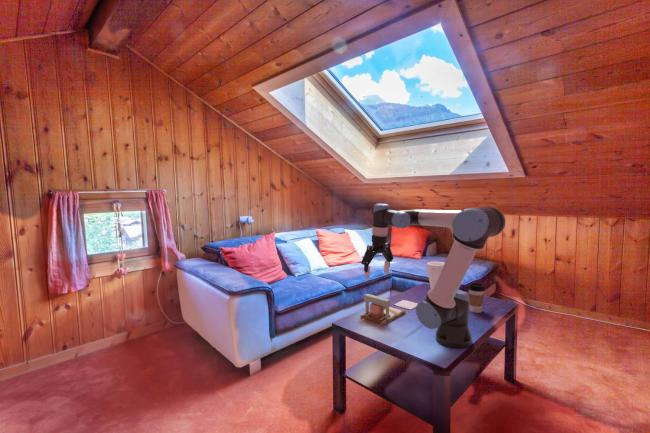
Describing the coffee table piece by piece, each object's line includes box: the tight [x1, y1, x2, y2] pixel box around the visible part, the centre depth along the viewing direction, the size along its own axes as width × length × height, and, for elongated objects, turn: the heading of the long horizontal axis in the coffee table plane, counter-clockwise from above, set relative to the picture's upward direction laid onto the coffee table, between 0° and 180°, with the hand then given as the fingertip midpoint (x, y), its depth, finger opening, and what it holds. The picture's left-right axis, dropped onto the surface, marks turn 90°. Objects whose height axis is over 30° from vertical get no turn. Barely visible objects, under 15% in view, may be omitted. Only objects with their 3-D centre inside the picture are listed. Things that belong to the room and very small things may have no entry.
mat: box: [393, 299, 419, 311], centre depth 191 cm, size 11×11×1 cm
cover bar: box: [363, 293, 391, 320], centre depth 167 cm, size 3×14×10 cm, turn 46°
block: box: [369, 303, 384, 319], centre depth 167 cm, size 5×5×8 cm
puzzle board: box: [357, 306, 409, 328], centre depth 172 cm, size 26×14×4 cm, turn 136°
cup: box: [426, 260, 445, 289], centre depth 202 cm, size 12×12×22 cm
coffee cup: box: [467, 282, 485, 314], centre depth 180 cm, size 8×8×15 cm
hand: (376, 275), depth 165 cm, fingers open, 13 cm apart
